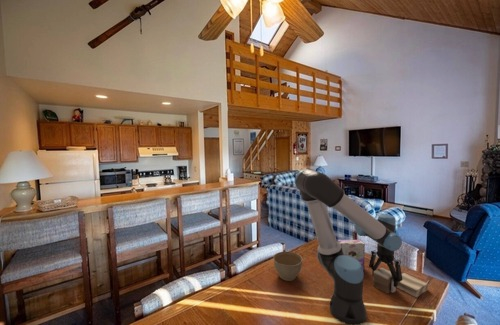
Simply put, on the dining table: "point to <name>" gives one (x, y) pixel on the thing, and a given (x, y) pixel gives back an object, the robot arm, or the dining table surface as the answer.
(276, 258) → the planter bowl
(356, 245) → the candy box
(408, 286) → the riser block
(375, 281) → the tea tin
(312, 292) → the dining table surface
